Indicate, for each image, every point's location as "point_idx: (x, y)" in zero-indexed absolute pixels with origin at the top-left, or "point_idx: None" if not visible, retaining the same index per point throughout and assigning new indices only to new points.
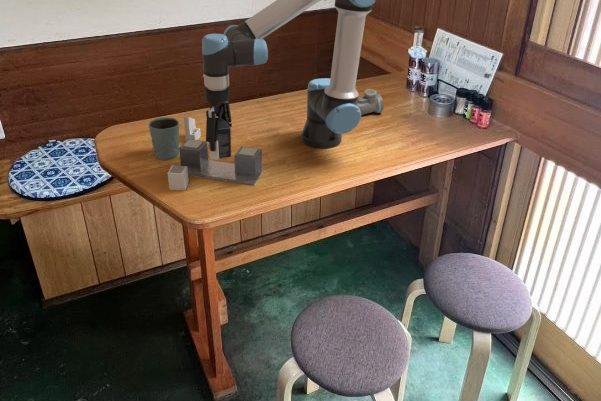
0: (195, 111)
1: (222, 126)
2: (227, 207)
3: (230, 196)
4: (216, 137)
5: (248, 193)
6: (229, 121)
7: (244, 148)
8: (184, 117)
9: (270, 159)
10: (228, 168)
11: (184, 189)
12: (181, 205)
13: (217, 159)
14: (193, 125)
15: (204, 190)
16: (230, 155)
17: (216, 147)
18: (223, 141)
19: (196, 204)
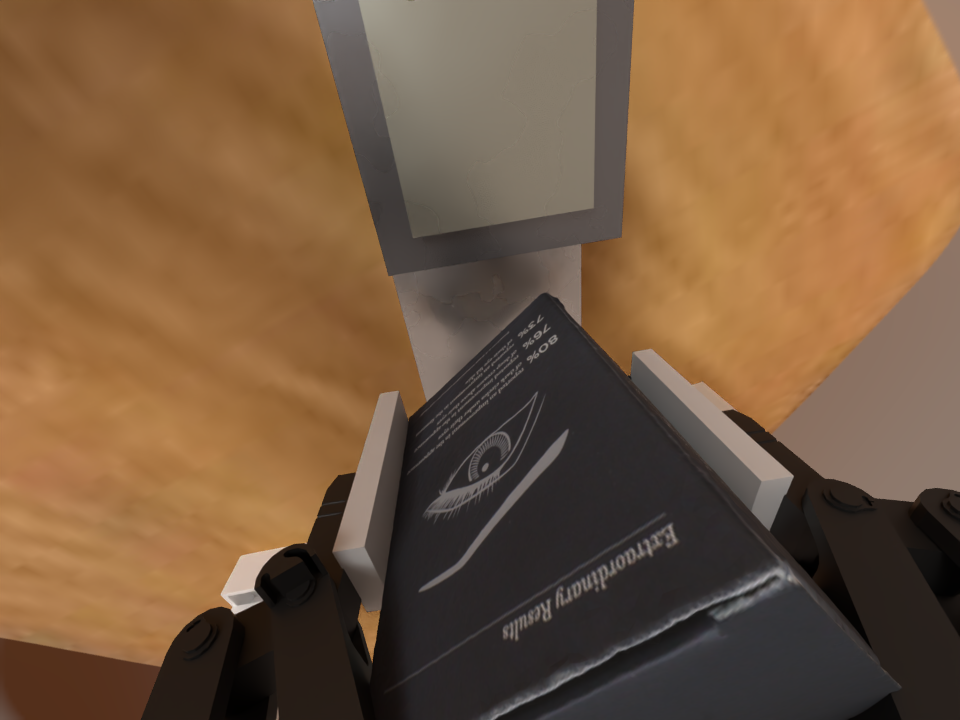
0: (88, 653)
1: (774, 699)
2: (873, 81)
3: (741, 133)
4: (857, 534)
5: (692, 12)
6: (236, 640)
7: (445, 201)
8: (277, 712)
9: (142, 92)
10: (465, 303)
11: (705, 386)
12: (830, 330)
13: (651, 355)
14: None
15: (691, 307)
16: (555, 297)
17: (727, 427)
18: (673, 427)
19: (825, 274)
